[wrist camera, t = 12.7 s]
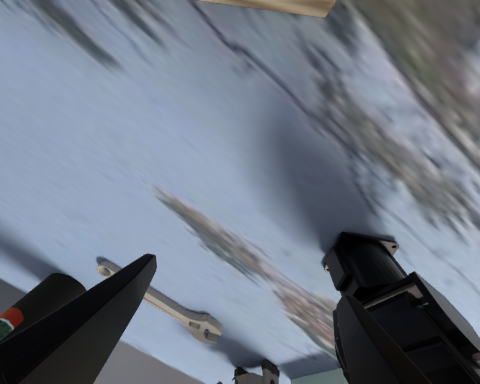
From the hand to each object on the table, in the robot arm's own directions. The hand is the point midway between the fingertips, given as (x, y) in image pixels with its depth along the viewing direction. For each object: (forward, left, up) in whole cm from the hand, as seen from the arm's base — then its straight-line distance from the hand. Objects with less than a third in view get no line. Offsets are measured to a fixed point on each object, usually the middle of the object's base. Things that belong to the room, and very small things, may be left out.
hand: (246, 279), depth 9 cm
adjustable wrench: (+11, +26, -14) cm, 31 cm away
